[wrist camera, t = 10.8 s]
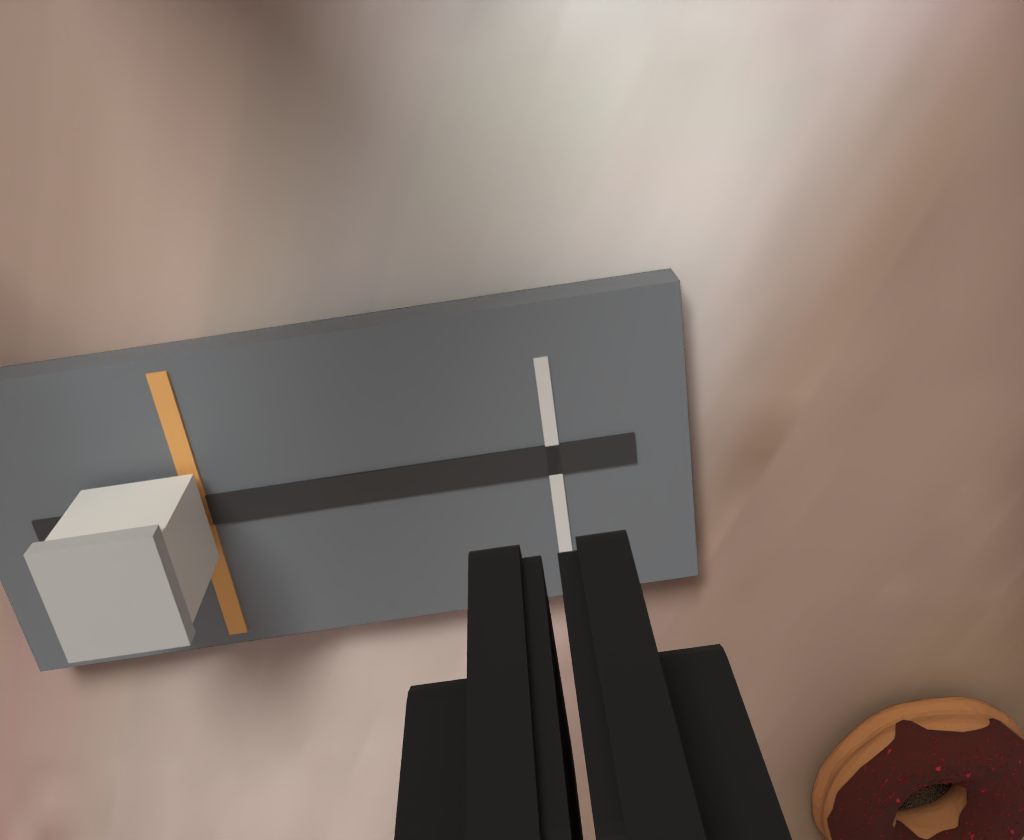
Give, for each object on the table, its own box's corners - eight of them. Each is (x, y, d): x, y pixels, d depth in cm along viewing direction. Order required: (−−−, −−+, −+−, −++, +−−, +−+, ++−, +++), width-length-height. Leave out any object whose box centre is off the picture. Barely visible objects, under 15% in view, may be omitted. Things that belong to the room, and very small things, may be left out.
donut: (887, 871, 48) (923, 945, 44) (759, 777, 44) (786, 848, 41) (1056, 752, 45) (1109, 820, 41) (932, 643, 42) (978, 706, 38)
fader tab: (190, 465, 33) (152, 536, 29) (221, 564, 35) (190, 645, 31) (77, 481, 33) (23, 555, 29) (114, 580, 35) (68, 663, 31)
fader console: (670, 268, 34) (680, 281, 32) (689, 554, 39) (698, 577, 37) (-60, 376, 34) (-83, 394, 32) (54, 647, 39) (39, 673, 37)
